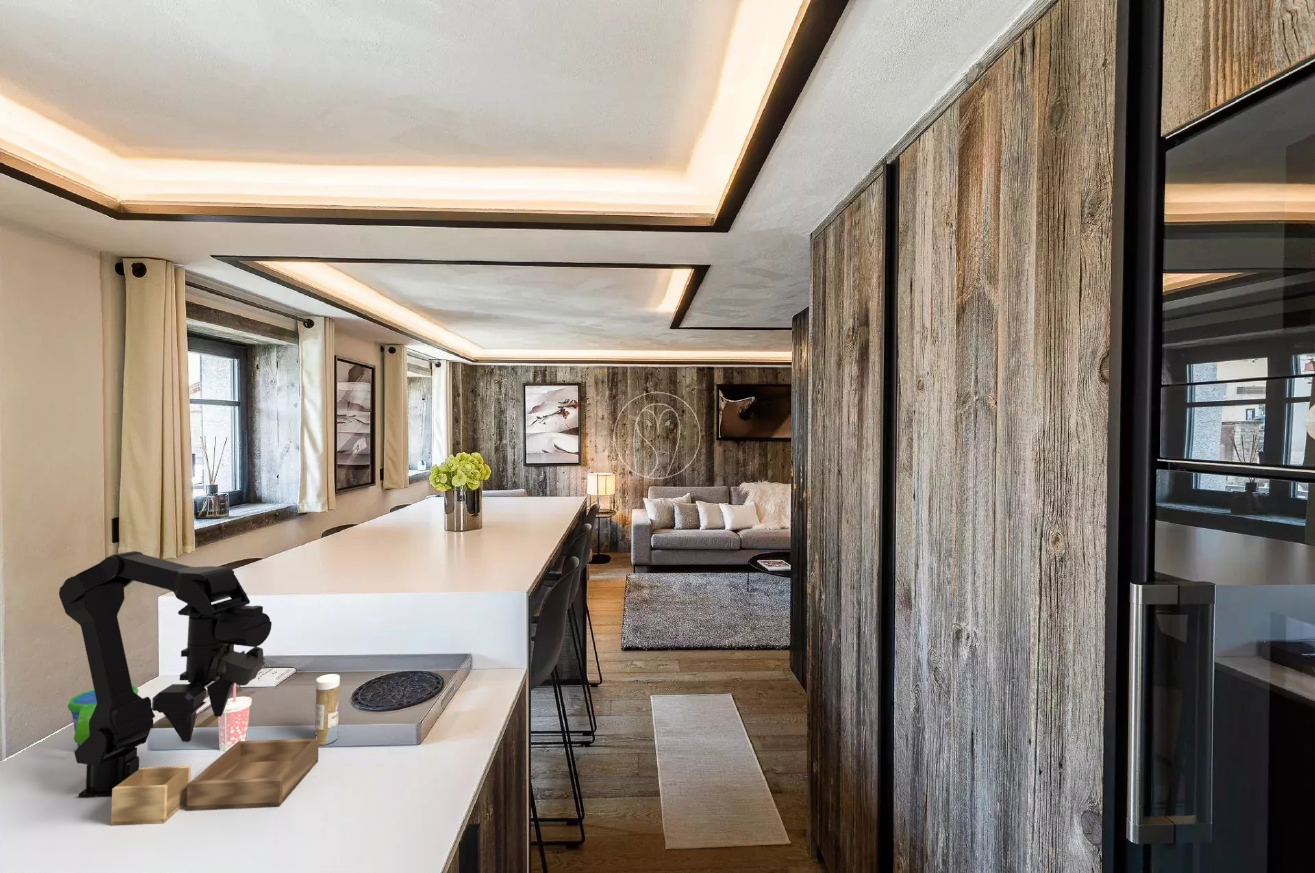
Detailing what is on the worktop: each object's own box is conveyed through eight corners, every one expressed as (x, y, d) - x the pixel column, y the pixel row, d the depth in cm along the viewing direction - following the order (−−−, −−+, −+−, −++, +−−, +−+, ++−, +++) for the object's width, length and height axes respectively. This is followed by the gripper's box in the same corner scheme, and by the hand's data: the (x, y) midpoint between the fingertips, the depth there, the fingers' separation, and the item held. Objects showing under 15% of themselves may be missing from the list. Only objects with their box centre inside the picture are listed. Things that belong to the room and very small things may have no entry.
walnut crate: (186, 810, 103) (187, 784, 103) (237, 763, 118) (238, 740, 118) (279, 806, 105) (280, 780, 105) (318, 761, 120) (318, 738, 120)
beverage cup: (257, 738, 128) (259, 672, 128) (238, 753, 122) (240, 684, 122) (228, 738, 128) (229, 672, 128) (207, 753, 122) (209, 684, 122)
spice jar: (339, 742, 127) (341, 678, 127) (314, 747, 125) (316, 683, 125) (337, 733, 131) (338, 671, 131) (313, 738, 129) (314, 675, 129)
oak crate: (111, 825, 99) (112, 788, 99) (140, 801, 105) (141, 767, 105) (163, 822, 100) (164, 786, 100) (189, 799, 106) (190, 765, 106)
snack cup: (98, 727, 132) (100, 681, 132) (154, 723, 134) (155, 678, 134) (43, 765, 116) (44, 712, 116) (107, 760, 119) (108, 708, 119)
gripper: (227, 659, 99) (222, 754, 99) (281, 624, 117) (277, 704, 117) (152, 659, 97) (147, 756, 97) (219, 624, 116) (215, 705, 116)
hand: (203, 728), depth 107 cm, fingers open, 9 cm apart
